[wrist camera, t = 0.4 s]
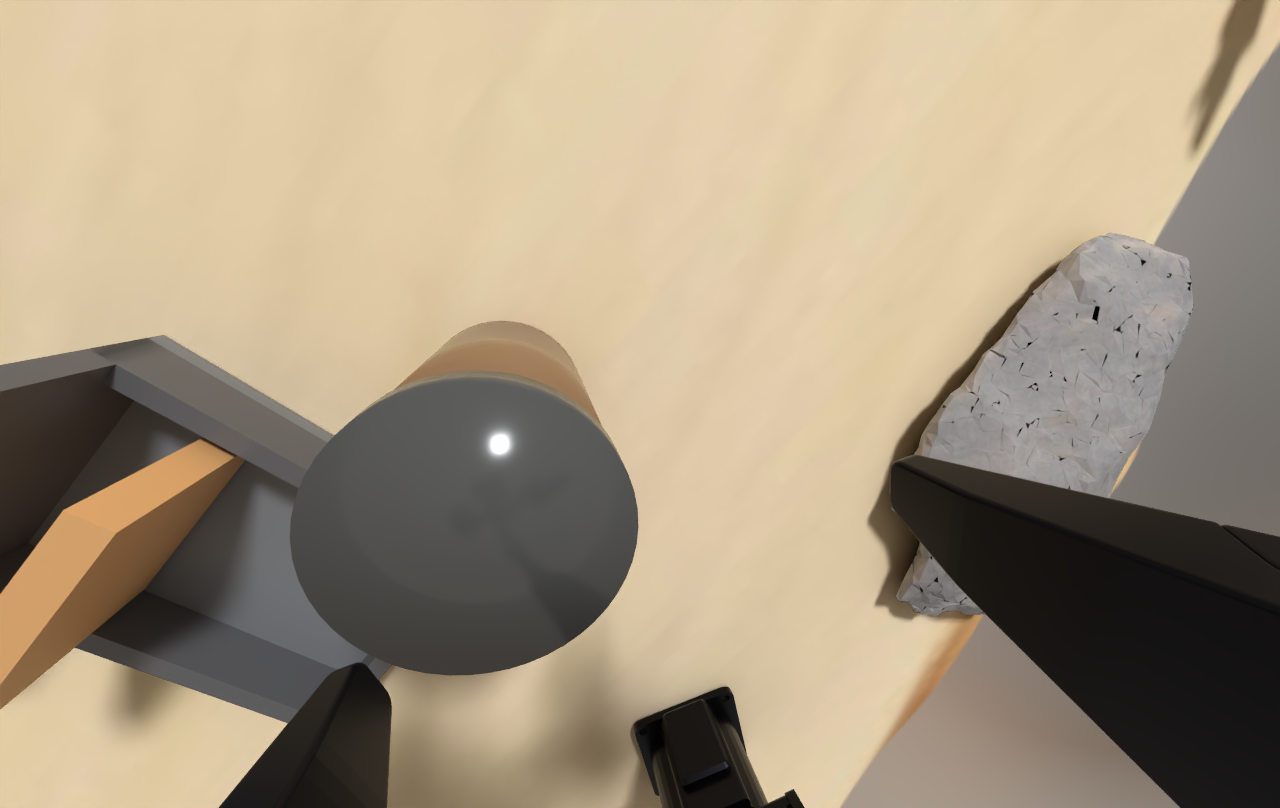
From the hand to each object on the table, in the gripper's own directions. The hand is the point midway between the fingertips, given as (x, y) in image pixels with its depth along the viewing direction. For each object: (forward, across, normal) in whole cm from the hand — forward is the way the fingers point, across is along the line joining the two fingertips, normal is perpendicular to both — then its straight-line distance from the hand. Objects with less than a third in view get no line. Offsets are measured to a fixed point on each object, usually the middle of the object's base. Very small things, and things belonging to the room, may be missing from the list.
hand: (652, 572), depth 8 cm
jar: (+15, +3, +2) cm, 16 cm away
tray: (+15, +15, +5) cm, 22 cm away
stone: (+14, -24, +14) cm, 32 cm away
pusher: (+14, +17, +2) cm, 22 cm away
